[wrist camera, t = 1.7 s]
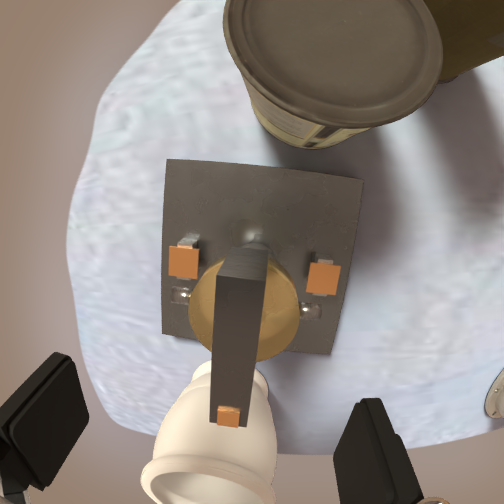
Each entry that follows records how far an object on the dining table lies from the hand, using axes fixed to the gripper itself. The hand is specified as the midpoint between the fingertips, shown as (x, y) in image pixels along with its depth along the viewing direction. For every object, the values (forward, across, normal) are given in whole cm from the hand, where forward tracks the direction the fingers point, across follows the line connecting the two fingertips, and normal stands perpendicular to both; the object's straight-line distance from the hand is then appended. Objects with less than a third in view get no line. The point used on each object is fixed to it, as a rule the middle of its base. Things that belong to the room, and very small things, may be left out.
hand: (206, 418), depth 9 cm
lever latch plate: (+20, -1, 0) cm, 20 cm away
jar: (+20, 0, +15) cm, 25 cm away
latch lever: (+10, -1, 0) cm, 10 cm away
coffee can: (+20, -4, -15) cm, 25 cm away
